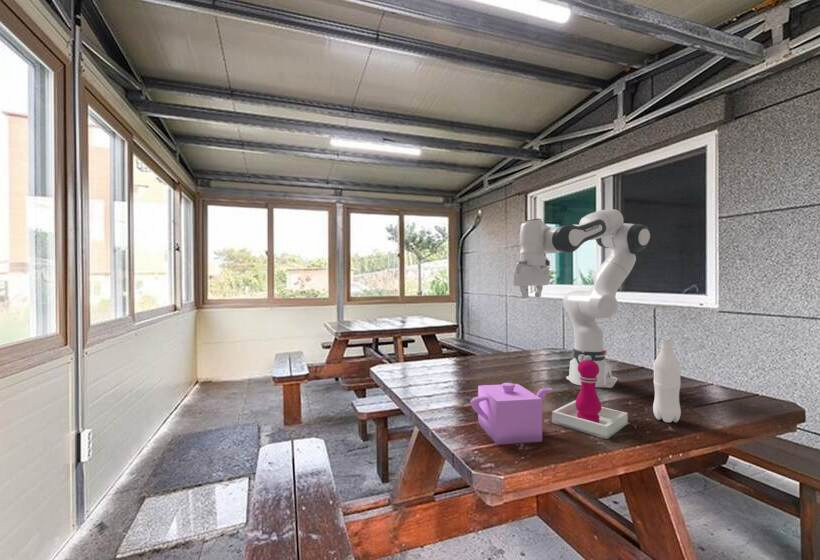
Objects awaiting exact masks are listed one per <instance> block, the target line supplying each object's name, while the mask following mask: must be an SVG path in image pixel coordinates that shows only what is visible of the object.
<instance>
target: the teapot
mask: <svg viewBox="0 0 820 560" xmlns="http://www.w3.org/2000/svg"><path fill="white" fill-rule="evenodd" d="M552 390H553V388H552V387H543V388H541V389H539V390H538V392H537V393H536V394H535V393H533V392H532V391H530V390H529V389H528V388H525V387H523V386H522V385H520V383H512V382H504V383H502V384H483V385H478V386H477V396H476V397H473V398H471V399H470V401H469V402H470V406H471V408H472V410H473V411H474V412H475V413H477V424H478V425H479V426H480V427H481V428H482V430H484V432H485V433H486V434H487V435H488V436H489V438H490V439H491V440H492V441H493V442H494V443H495V444H496V445H497V446H498V445H499V446H500V445H514V444H524V443H525V444H526V443H539V442H540V443H541V442H543V400H544V399H545V397H546V395H547V394H548V392H550V391H552Z"/></svg>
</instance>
